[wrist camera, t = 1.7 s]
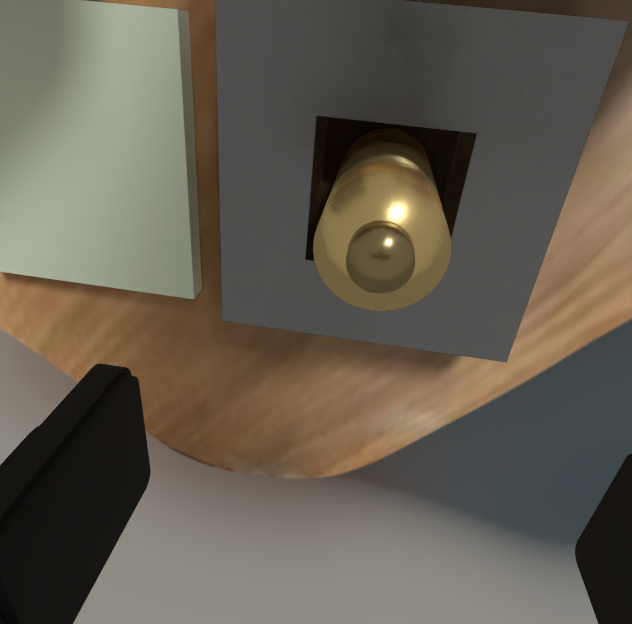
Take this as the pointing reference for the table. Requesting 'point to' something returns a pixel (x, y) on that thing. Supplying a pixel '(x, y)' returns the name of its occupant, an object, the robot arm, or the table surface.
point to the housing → (412, 110)
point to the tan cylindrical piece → (383, 225)
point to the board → (98, 146)
